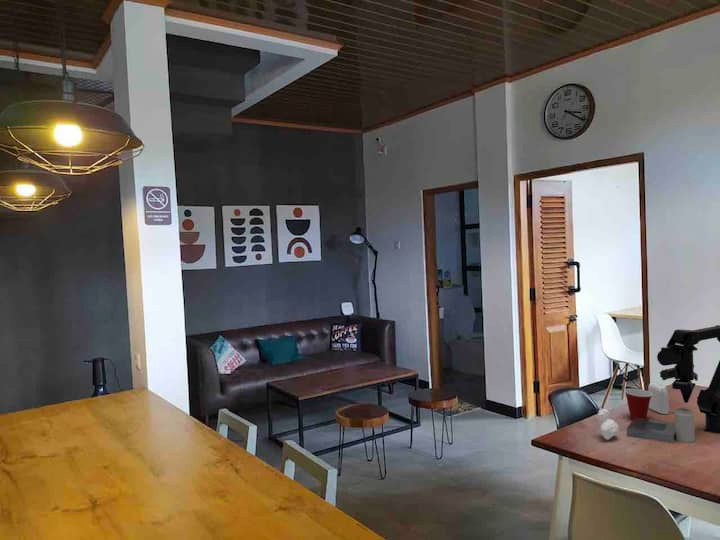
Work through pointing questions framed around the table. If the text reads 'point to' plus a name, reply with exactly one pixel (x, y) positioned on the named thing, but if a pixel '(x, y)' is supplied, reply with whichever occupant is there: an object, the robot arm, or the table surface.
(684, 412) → the beverage can
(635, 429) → the jig plate
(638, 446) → the table surface
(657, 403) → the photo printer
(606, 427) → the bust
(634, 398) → the plastic cup
